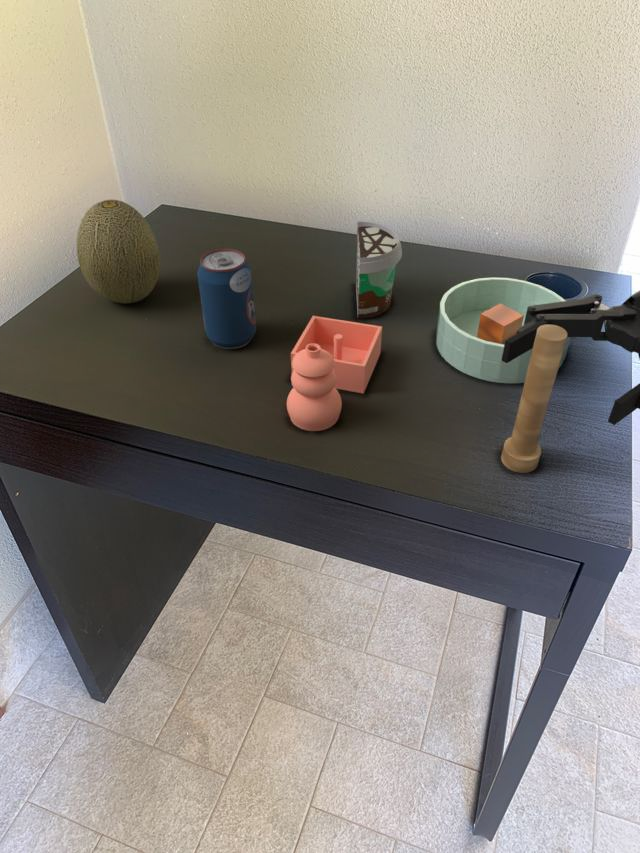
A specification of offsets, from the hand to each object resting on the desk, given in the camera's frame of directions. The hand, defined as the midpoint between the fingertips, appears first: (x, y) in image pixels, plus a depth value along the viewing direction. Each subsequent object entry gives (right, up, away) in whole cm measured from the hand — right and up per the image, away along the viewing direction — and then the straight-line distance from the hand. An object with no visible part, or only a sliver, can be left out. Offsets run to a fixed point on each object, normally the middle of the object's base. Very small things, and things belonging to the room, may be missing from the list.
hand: (556, 381), depth 72 cm
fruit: (-54, +14, +32) cm, 64 cm away
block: (-1, +7, +21) cm, 22 cm away
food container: (-16, +14, +30) cm, 37 cm away
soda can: (-37, +7, +23) cm, 45 cm away
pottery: (-24, 0, +15) cm, 28 cm away
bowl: (0, +6, +21) cm, 22 cm away
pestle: (-3, -9, +5) cm, 10 cm away
